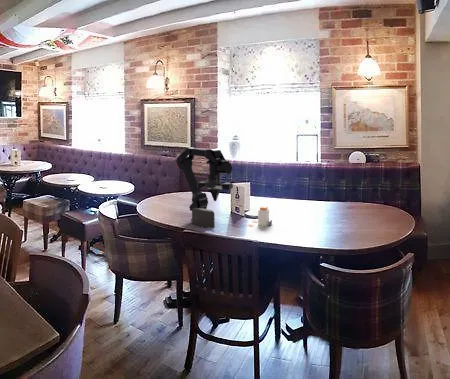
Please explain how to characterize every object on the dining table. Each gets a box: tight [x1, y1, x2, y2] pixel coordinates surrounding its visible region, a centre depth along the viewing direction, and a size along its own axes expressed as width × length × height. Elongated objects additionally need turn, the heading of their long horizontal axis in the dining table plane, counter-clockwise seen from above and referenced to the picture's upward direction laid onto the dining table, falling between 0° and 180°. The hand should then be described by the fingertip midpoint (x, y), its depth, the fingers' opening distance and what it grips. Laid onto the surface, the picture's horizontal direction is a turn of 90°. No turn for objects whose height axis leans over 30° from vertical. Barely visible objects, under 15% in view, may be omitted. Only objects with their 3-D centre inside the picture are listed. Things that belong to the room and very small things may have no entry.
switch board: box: [247, 219, 273, 228], centre depth 215 cm, size 16×11×4 cm
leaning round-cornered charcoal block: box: [191, 208, 216, 229], centre depth 215 cm, size 16×5×9 cm, turn 48°
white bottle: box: [257, 205, 270, 227], centre depth 212 cm, size 4×4×10 cm
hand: (215, 201), depth 217 cm, fingers closed
